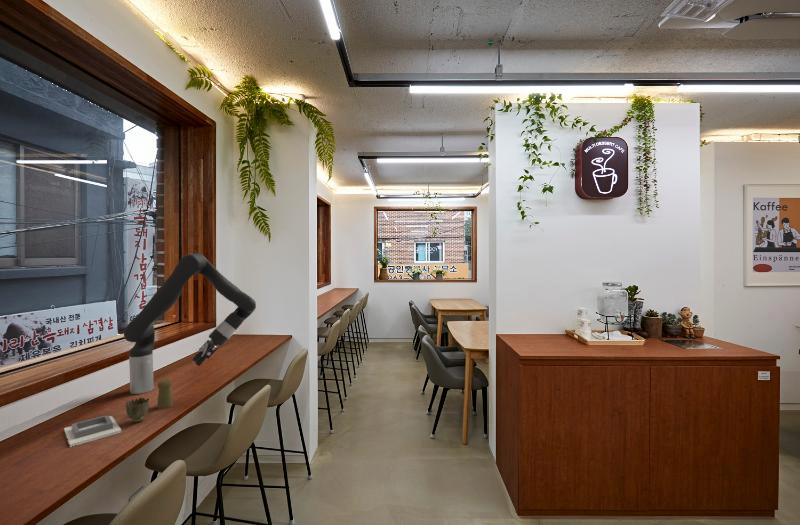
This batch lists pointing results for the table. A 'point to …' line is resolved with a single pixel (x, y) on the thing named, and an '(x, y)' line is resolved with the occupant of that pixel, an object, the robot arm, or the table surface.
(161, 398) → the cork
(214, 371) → the table surface
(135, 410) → the cup
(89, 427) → the socket board
